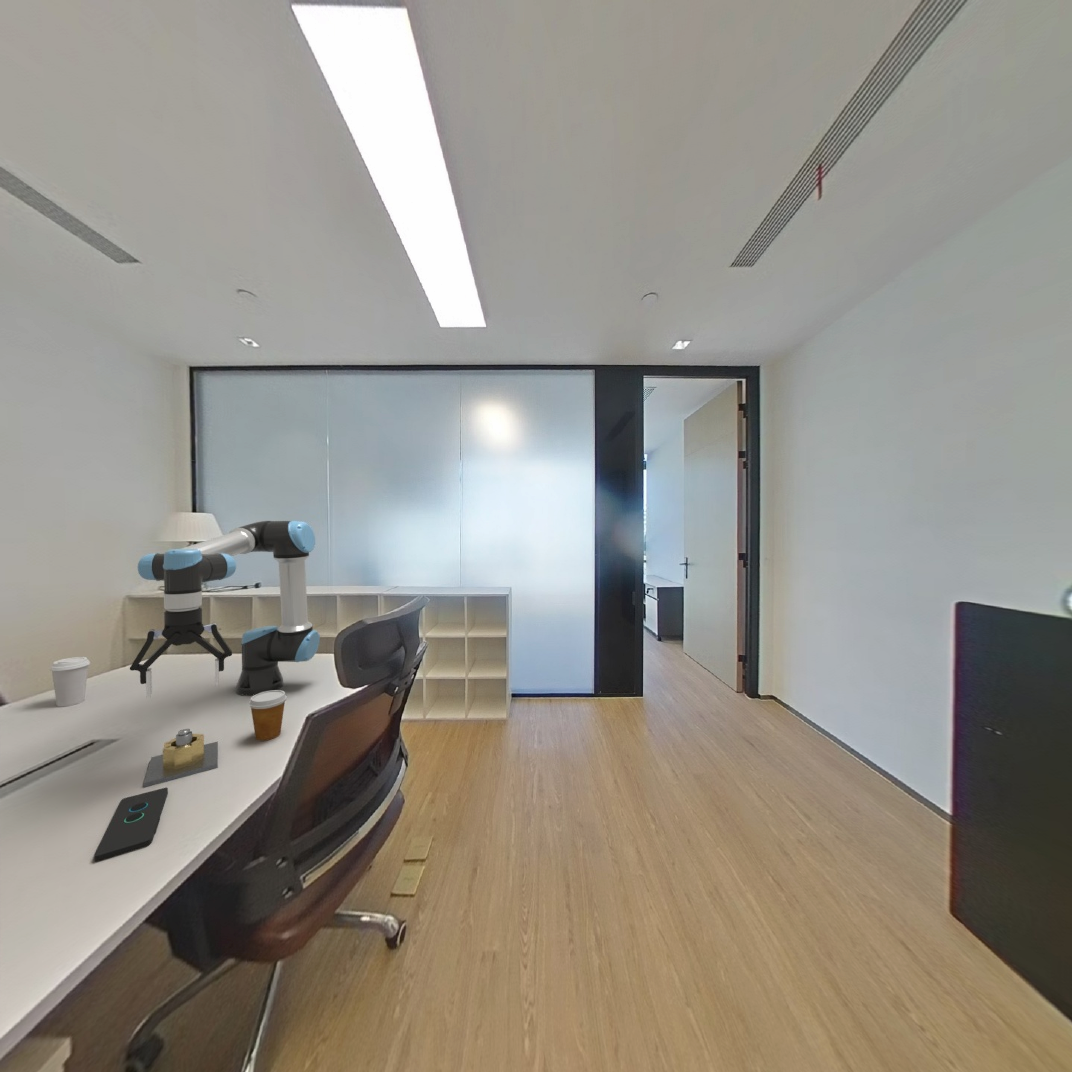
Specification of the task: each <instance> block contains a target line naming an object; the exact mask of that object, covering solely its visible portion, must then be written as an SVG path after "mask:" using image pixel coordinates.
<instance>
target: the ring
mask: <svg viewBox="0 0 1072 1072" xmlns="http://www.w3.org/2000/svg"><path fill="white" fill-rule="evenodd" d="M204 745H205V734H203V733H201V734H200V733H192V743H191V744H188V745H184V746H180V747H176V737H174V738H173V739H170V740H169V741H166V742H165V743H164V744H163V748H162V755H163V768H164V769H174V770H175V769H179V768H183V767H187V766H191V765H193V764H195V763H196V762H198V761H200V760H201V759H203V758H204Z"/></svg>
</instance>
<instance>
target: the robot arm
mask: <svg viewBox="0 0 1072 1072" xmlns="http://www.w3.org/2000/svg"><path fill="white" fill-rule="evenodd" d="M315 545H316V536H315V532H314V529H313V528H312V527H311V525H309V524H308V523H307V522H306V521H301V520H300V521H299V520H262V521H256V522H253V523H248V524H245V525H242V526H239V527H235V528H233V529H231V530H230V531H229V532H228V533H226V534H223V535H220V536H217V537H213V538H211V539H207V540H205V541H201V542H197V543H195V544H191V545H189V546H185V547H182V548H178V549H176V548H175V549H168V550H166V551H165V552H164V553H158V552H156V553H148V554H145V555H144V556H142V557H141V558H140V559H139V561H138V563H137V571H138V575H139V576H140V577H141V578H142V579H144V580H147V581H155V582H160V581H163V586H164V588H163V589H164V590H163V592H164V593H163V608H164V609H165V611H164V612H163V613H164V614H163V615H164V616H163V620H164V621H163V622H164V627H163V629H161V630H157V629H156V630H155V629H153V628H152V629H150V630H148V633H147V635H146V641H145V642H144V644H143V646H142V647H141V649H140V651H139V652H138V654H137V655H136V657H135V658H134V660H133V662H132V663H131V665H130V667H129V670H130V671H138V672H139V681H140V684H141V685H144V684H145V686H146V689H145V691H146V698H151V696H152V694H153V684H152V683H153V681H152V679H153V677H152V676H153V674H152V672H153V670H152V667H151V666H152V665H153V664H154V663H155V662H156V660H158V659H159V657H161V655H162V654H163V653H164V652H165V651H166V650H167V649H168V648H170V646H172V645H173V646H176V647H178V646H182V645H191V644H193V643H195V642H196V644H198V645H200V647H202V648H204V649H205V650H206V651H208V652H209V653H210V654H211V655H213V656H214V657H215V659H214V663H215V664H214V674H215V675H214V679H215V682H214V683H215V685H214V686H219V685H220V679H219V678H220V672H224V669H225V659H226V658H228V657H231V656H232V655H233V650H232V649H231V648H230V647H229V645H228V643H227V642H226V640H225V639H224V638H223V636H222V635H221V633H220V632H219V630H218V626H217V625H218V624H217V623H216V622H213V623H211V624H207V625H204V624H203V609H202V607H201V606H202V604H203V599H202V597H203V595H202V594H203V591H202V588H203V587H202V586H203V585H202V584H203V583H207V582H214V581H221V580H224V579H228V578H230V577H231V576H233V575H234V573H235V572H236V570H237V561H236V560H235V558H234V556H236V555H246V554H247V555H248V554H250V553H257V552H265V553H272V554H273V559H274V560H275V561H277V562H278V573H279V574H278V577H279V590H280V608H281V609H280V612H281V613H280V614H281V625H279V627H278V625H267V626H261V627H257V628H252V629H249V630H246V631H244V633H242V636H241V643H240V645H241V673H240V676H239V678H238V679H237V680H238V681H237V683H236V687H235V688H236V689H235V690H236V691H235V692H236V694H237V695H240V696H254V695H256V694H259V693H262V692H266V691H272V690H280V689H281V688H282V687H283V685H284V677H283V675H282V672H281V669H280V668H279V665H278V664H279V663H281V662H283V663H284V662H285V663H300V662H308V661H310V660H312V659H313V657H315V654H316V653H317V651H318V649H319V647H320V641H321V637H320V633H319V631H317V630H316V629H315V630H314V629H313V623H312V622H311V621H309V618H308V597H307V596H308V595H307V594H308V593H307V578H306V560H307V559H308V558H309V557H310V553H311V552H313V551H314V548H315ZM204 631H207V632H208V633H209V634H212V636H213V638H214V639H215V640H216V642H217V643H218V645H219V647H220V648H221V649H222V652H221V650H219V649H218V648H216V647H215V645H213V644H212V643H210V642H209V641H208V640H207V639H205V638H204V637H203V636H202V634H203V633H204ZM161 636H162V637H164V638H165V641H164V642H163V643H162V644H161V645H160V647H159V648H157V649H156V650H155V652H153V653H152V655H151V656H149V658H148V659H147V660H145V662H144V663H142V664H141V661H142V660H143V658H144V656H145V655H146V654H147V652H148V650H149V649H150V647H151V645H152V644H153V642H154V641H155V640H157V639H158V638H159V637H161Z"/></svg>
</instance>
